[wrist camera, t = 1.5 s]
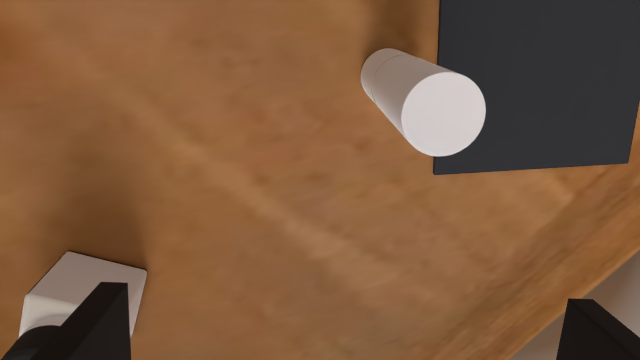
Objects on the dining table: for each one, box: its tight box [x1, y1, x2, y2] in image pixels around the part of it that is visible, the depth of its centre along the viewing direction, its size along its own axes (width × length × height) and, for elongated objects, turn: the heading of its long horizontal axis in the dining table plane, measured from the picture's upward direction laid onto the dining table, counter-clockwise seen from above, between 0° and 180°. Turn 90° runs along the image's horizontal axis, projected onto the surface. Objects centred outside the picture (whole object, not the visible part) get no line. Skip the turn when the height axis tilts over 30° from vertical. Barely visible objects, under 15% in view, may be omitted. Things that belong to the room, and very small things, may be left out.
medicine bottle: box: [1, 252, 147, 360], centre depth 37 cm, size 7×7×12 cm
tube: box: [361, 48, 486, 156], centre depth 31 cm, size 4×4×15 cm
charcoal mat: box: [433, 0, 640, 175], centre depth 38 cm, size 20×17×1 cm
